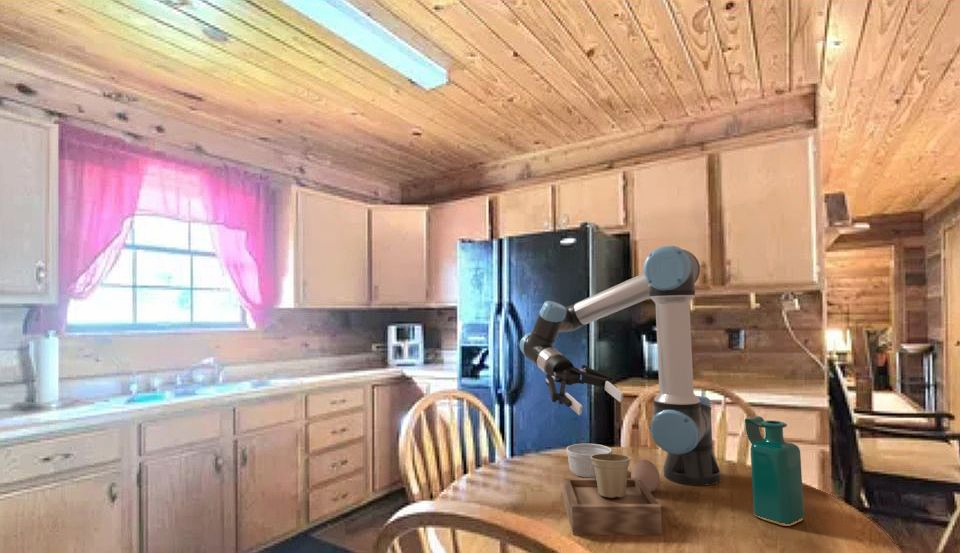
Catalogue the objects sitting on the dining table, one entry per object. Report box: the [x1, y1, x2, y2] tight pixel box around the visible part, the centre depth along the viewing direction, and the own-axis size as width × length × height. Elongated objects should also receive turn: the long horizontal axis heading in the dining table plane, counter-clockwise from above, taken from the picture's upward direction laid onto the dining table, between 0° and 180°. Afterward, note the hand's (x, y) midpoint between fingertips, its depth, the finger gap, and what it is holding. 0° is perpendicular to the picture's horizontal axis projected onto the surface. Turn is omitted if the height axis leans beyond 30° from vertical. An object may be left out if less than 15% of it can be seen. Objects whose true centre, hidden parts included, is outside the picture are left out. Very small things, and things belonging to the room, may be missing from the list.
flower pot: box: [590, 453, 632, 498], centre depth 125 cm, size 9×9×9 cm
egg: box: [630, 459, 661, 493], centre depth 140 cm, size 7×7×8 cm
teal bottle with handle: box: [744, 415, 805, 524], centre depth 122 cm, size 10×8×22 cm
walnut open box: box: [562, 477, 663, 536], centre depth 124 cm, size 19×19×6 cm
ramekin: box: [566, 443, 613, 478], centre depth 157 cm, size 13×13×7 cm
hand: (601, 404), depth 138 cm, fingers open, 13 cm apart
